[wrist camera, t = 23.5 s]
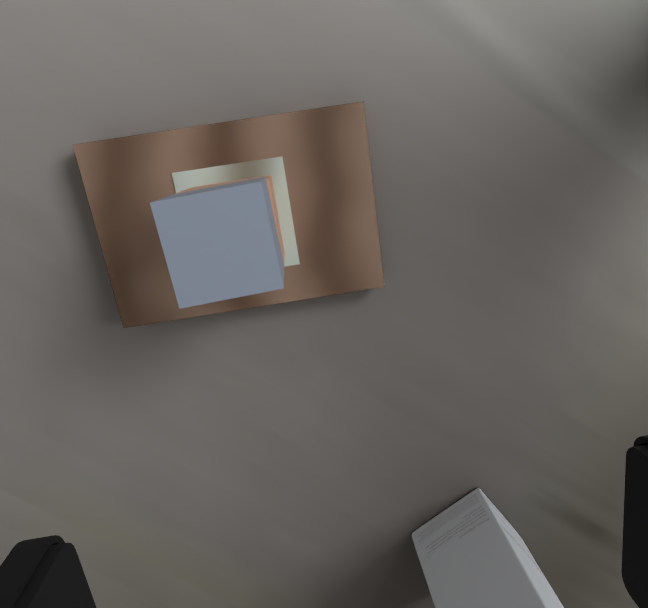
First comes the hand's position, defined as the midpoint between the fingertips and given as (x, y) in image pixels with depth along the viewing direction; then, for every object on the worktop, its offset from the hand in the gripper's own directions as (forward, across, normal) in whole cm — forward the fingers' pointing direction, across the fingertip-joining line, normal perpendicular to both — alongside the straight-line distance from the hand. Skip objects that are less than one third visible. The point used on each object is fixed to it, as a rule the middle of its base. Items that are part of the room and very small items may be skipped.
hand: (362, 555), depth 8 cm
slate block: (+21, +4, -3) cm, 22 cm away
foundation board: (+28, +4, -3) cm, 29 cm away
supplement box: (+28, -10, +27) cm, 41 cm away
